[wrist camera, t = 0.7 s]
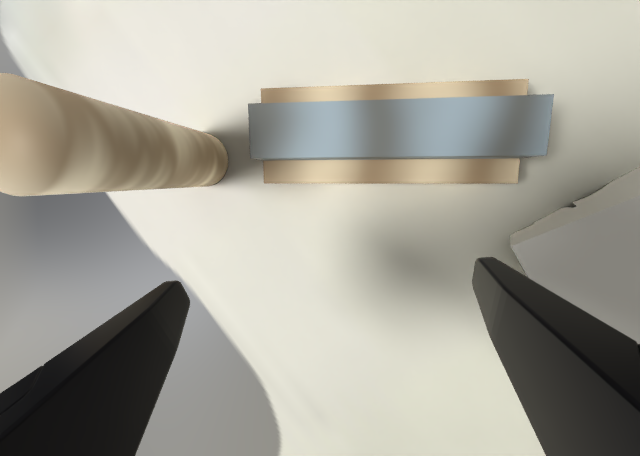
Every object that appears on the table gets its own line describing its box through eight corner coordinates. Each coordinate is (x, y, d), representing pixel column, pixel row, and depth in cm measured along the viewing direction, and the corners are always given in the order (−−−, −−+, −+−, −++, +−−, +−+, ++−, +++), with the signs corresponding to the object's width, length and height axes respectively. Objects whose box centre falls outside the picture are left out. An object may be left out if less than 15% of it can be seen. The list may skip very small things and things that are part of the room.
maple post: (223, 191, 23) (60, 208, 10) (175, 179, 23) (-42, 180, 10) (232, 140, 22) (69, 88, 9) (182, 127, 22) (-41, 61, 10)
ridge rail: (506, 91, 20) (557, 62, 15) (497, 182, 21) (542, 184, 16) (271, 99, 21) (247, 75, 16) (273, 182, 22) (251, 184, 17)
